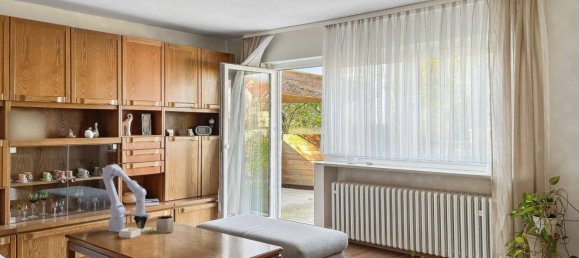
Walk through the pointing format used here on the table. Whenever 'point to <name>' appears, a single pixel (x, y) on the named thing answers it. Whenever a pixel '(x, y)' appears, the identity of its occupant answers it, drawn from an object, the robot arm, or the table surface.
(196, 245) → the table surface
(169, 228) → the planter
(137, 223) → the lid
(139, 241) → the table surface
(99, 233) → the table surface
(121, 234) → the beige bevelled block
